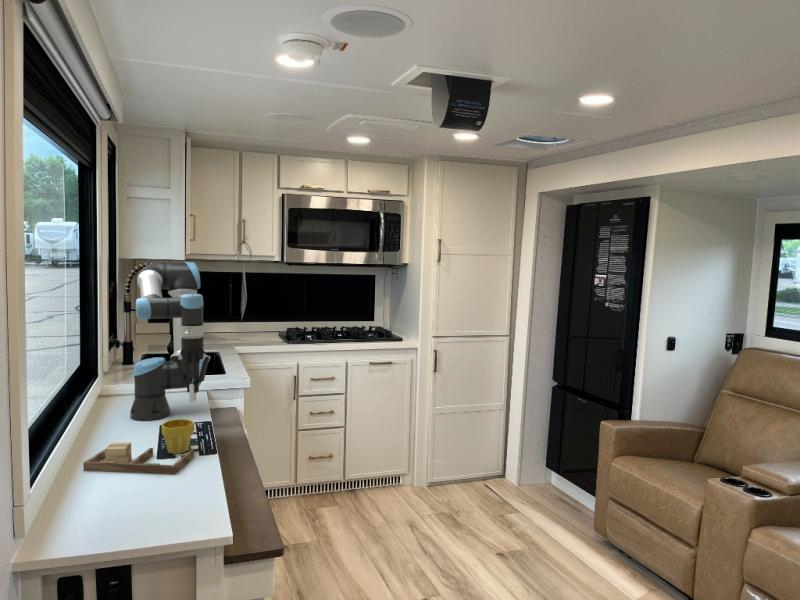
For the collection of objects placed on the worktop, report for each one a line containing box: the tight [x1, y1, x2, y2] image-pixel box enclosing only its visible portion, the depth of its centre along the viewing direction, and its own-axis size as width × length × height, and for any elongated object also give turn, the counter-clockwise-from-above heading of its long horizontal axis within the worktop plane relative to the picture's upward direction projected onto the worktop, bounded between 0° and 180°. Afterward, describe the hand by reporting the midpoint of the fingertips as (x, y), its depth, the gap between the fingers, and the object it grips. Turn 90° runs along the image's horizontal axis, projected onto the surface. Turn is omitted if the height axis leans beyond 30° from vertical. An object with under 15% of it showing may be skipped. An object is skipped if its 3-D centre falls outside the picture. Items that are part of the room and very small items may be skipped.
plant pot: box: [161, 418, 195, 455], centre depth 201 cm, size 10×10×10 cm
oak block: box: [104, 441, 133, 463], centre depth 189 cm, size 6×6×6 cm
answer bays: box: [82, 447, 195, 475], centre depth 189 cm, size 15×29×3 cm, turn 87°
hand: (193, 401), depth 213 cm, fingers closed
